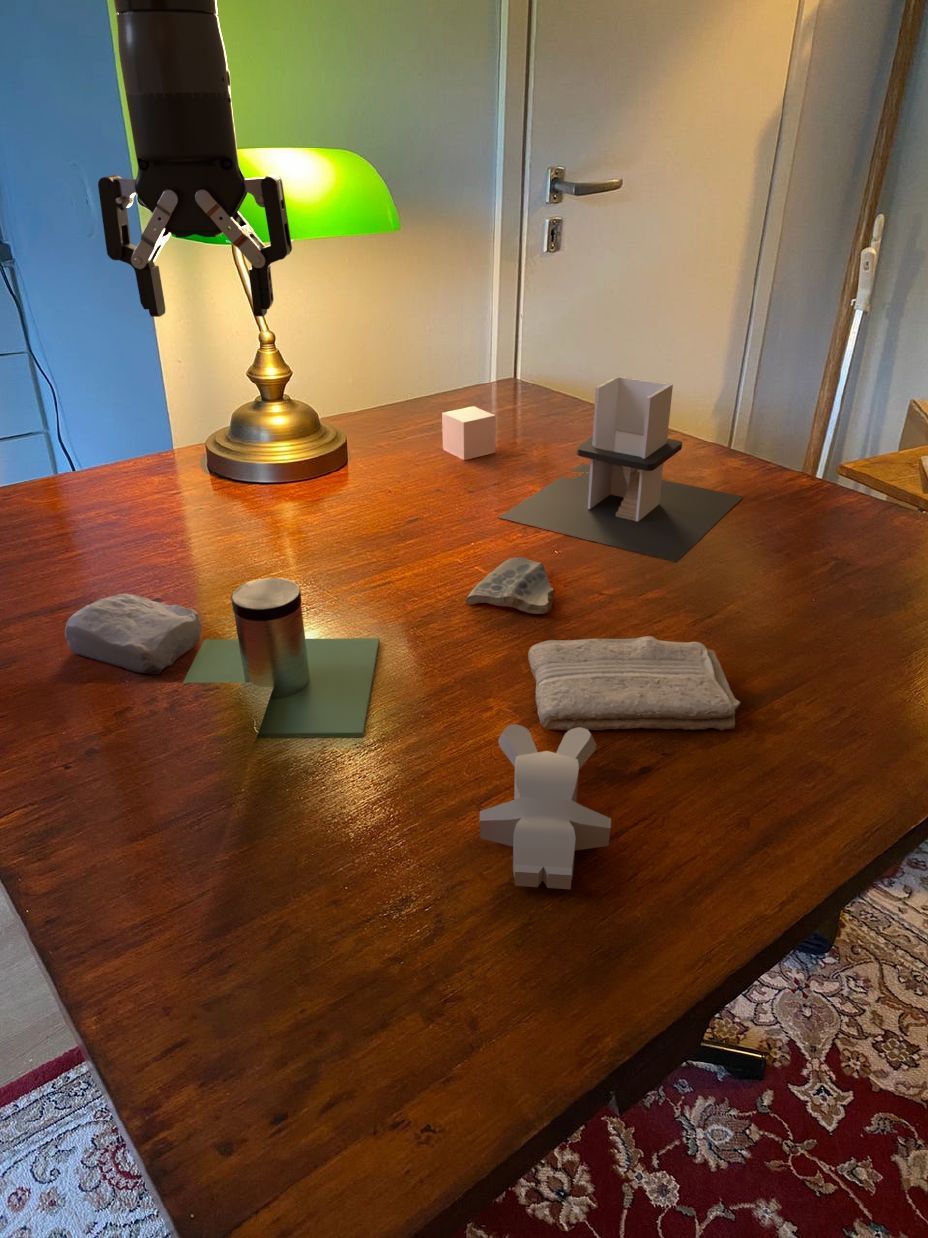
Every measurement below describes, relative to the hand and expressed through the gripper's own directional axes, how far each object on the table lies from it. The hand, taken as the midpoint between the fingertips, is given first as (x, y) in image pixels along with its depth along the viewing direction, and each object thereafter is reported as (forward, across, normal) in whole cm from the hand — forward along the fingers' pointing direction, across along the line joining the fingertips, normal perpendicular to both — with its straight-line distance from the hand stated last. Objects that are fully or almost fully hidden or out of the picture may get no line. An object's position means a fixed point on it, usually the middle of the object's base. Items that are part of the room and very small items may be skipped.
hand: (209, 314), depth 75 cm
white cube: (+33, +21, +60) cm, 72 cm away
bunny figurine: (+33, +27, -25) cm, 50 cm away
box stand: (+33, +42, +37) cm, 65 cm away
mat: (+33, +3, -6) cm, 34 cm away
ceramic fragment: (+33, +27, +12) cm, 44 cm away
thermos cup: (+32, +3, -6) cm, 33 cm away
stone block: (+33, -12, +2) cm, 35 cm away
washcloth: (+33, +36, -8) cm, 50 cm away
